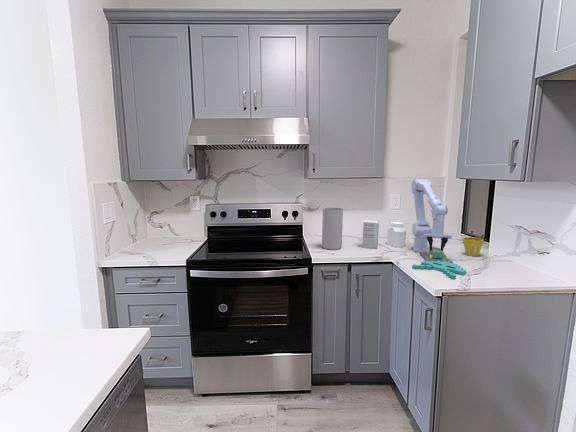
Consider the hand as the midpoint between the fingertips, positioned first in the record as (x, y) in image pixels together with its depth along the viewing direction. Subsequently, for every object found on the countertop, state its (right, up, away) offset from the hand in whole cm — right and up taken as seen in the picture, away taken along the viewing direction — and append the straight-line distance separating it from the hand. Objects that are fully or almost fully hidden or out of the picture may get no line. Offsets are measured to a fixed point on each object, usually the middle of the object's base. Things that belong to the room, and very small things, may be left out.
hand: (436, 250), depth 172 cm
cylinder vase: (-55, -1, +23) cm, 60 cm away
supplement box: (-30, -1, +27) cm, 40 cm away
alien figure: (-7, -8, -19) cm, 22 cm away
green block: (0, -3, 0) cm, 3 cm away
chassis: (0, -5, +1) cm, 5 cm away
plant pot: (+26, -4, +9) cm, 27 cm away
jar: (-11, 0, +32) cm, 34 cm away
